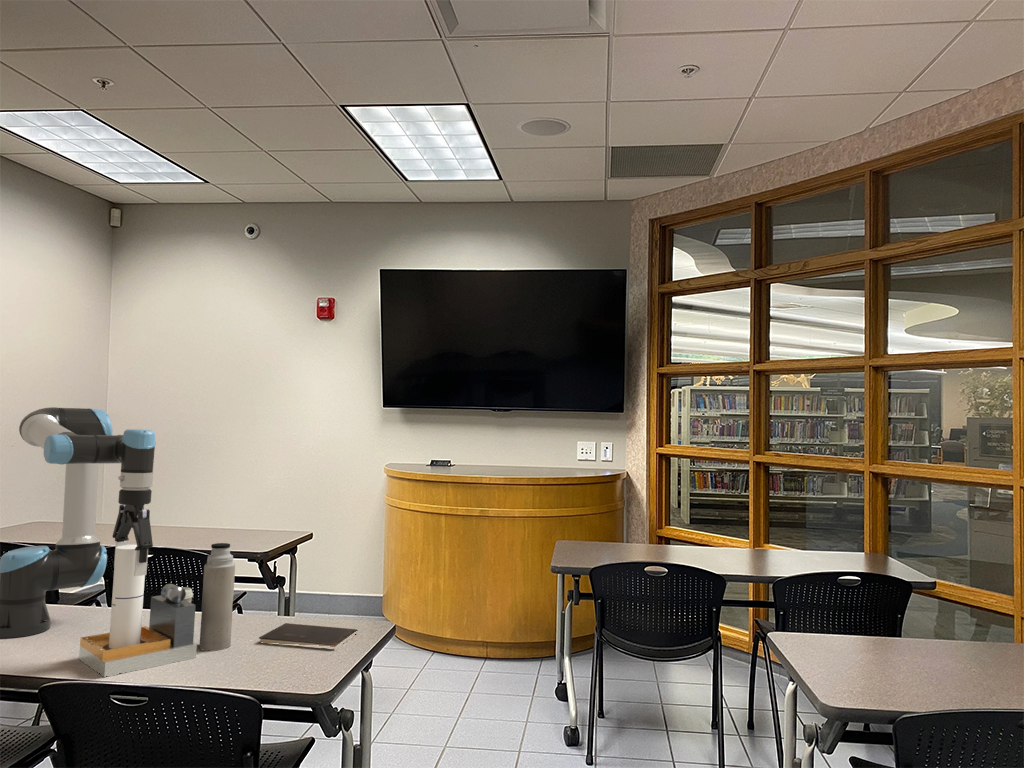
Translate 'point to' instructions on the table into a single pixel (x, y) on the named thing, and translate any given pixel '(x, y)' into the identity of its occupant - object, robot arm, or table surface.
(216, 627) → the thermos bottle
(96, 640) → the grey stand with tray
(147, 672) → the table surface
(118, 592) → the cylindrical container
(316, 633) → the hardcover book
